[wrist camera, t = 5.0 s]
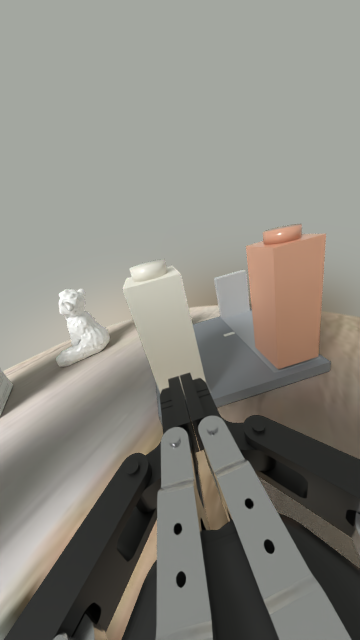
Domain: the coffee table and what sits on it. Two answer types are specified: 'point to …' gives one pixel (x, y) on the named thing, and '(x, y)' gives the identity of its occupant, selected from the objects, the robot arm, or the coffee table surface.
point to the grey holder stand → (240, 350)
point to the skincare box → (4, 390)
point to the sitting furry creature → (80, 329)
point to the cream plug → (163, 321)
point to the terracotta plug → (287, 293)
